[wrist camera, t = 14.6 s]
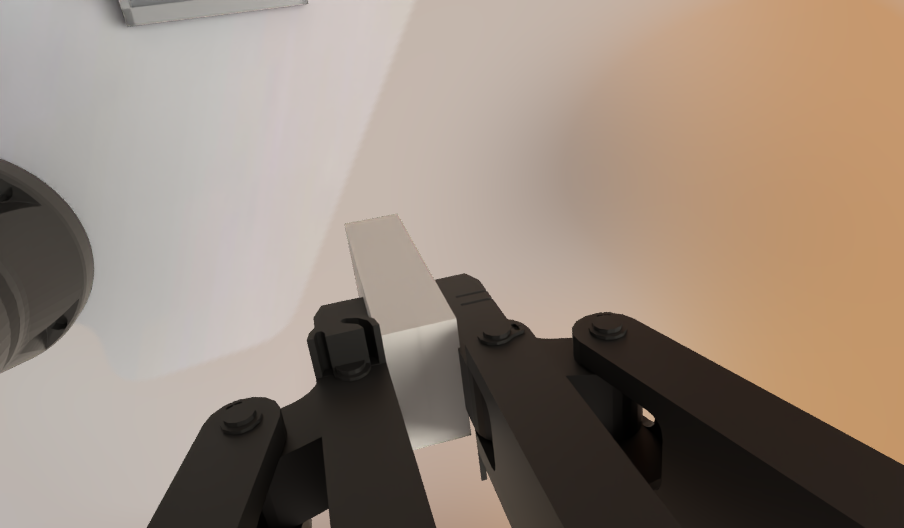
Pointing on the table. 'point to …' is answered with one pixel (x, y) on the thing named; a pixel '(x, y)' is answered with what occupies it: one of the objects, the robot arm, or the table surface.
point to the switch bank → (192, 9)
